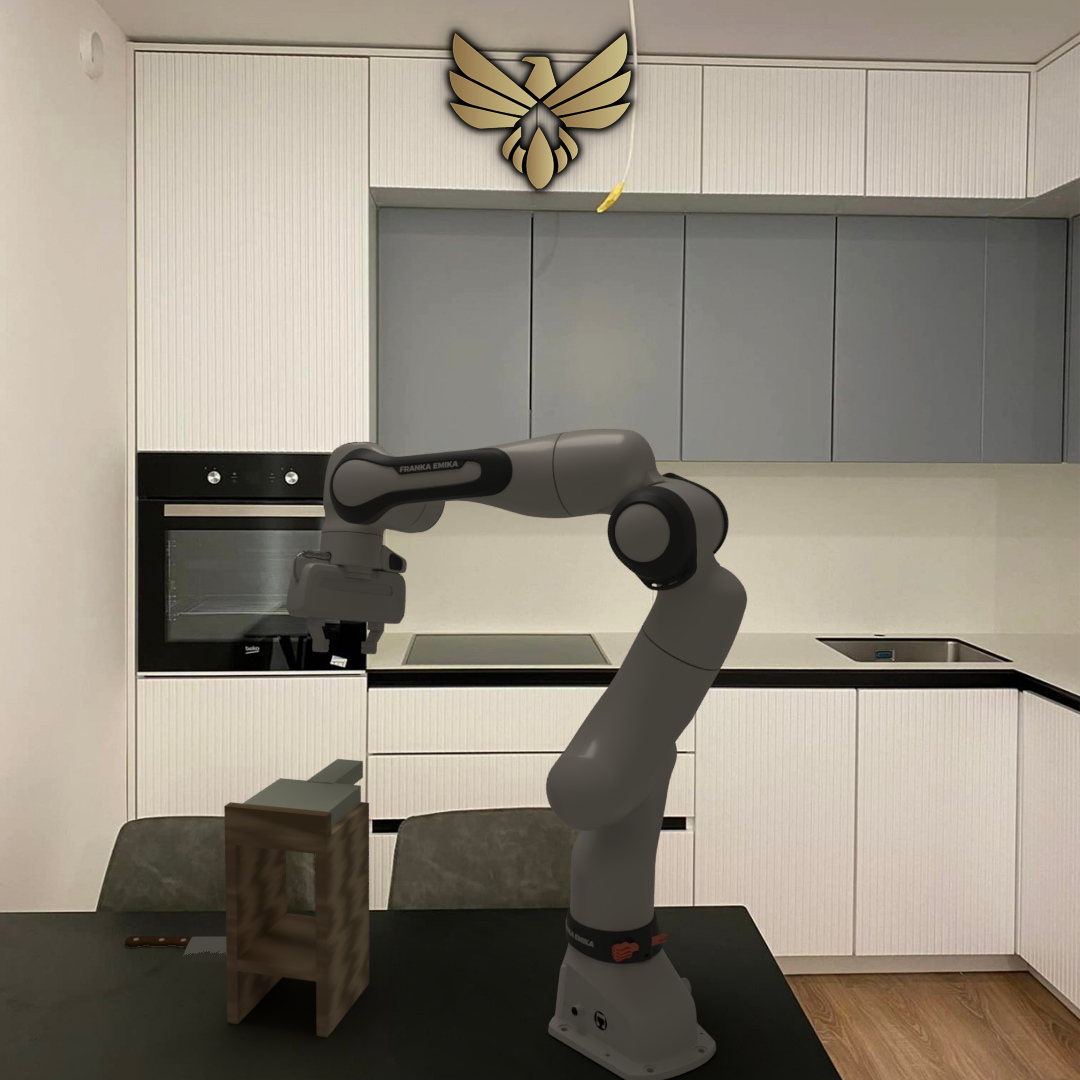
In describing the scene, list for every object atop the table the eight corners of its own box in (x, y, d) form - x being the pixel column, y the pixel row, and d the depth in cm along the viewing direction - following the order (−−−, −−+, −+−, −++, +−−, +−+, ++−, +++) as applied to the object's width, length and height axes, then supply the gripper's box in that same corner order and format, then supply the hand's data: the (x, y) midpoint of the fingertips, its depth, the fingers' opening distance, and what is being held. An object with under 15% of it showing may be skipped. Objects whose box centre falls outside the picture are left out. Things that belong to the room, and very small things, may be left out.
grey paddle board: (312, 773, 159) (312, 756, 159) (388, 779, 157) (388, 763, 156) (239, 824, 138) (239, 805, 138) (325, 833, 135) (325, 813, 135)
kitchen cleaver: (108, 964, 153) (133, 928, 163) (108, 970, 153) (133, 934, 163) (279, 966, 153) (293, 930, 163) (279, 973, 154) (293, 937, 163)
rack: (277, 970, 152) (275, 773, 150) (369, 983, 149) (369, 781, 146) (227, 1022, 139) (224, 806, 136) (327, 1037, 136) (326, 816, 133)
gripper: (311, 547, 142) (304, 651, 141) (414, 562, 159) (409, 655, 157) (279, 548, 146) (272, 650, 144) (383, 563, 163) (378, 654, 161)
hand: (345, 653), depth 151 cm, fingers open, 8 cm apart
